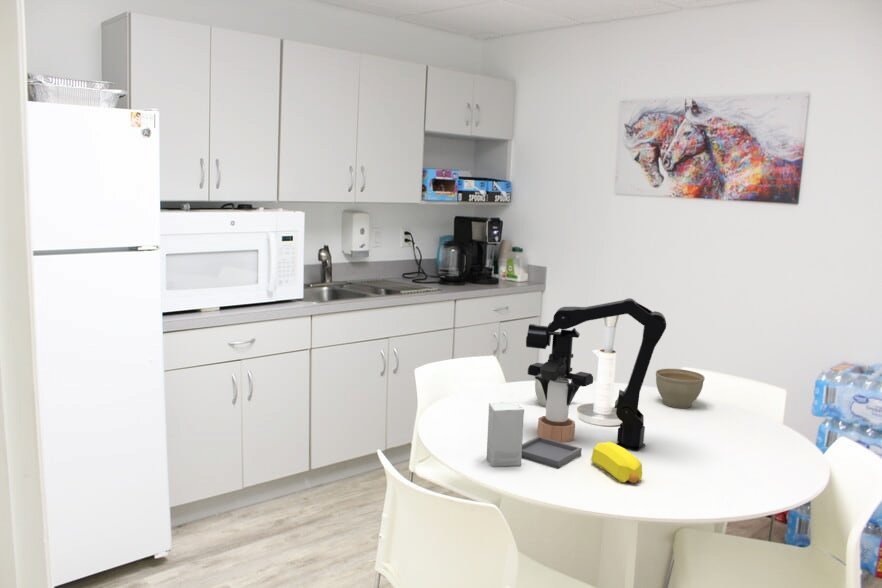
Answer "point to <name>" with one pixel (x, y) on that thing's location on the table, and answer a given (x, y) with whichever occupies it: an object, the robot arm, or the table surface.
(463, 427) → the table surface
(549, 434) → the ring
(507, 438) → the skincare box
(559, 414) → the can
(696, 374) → the planter bowl
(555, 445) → the tray
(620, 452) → the yellow faceted block
